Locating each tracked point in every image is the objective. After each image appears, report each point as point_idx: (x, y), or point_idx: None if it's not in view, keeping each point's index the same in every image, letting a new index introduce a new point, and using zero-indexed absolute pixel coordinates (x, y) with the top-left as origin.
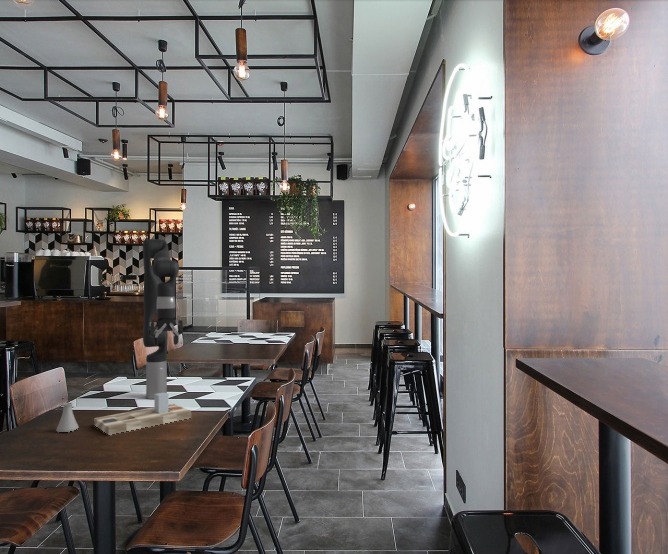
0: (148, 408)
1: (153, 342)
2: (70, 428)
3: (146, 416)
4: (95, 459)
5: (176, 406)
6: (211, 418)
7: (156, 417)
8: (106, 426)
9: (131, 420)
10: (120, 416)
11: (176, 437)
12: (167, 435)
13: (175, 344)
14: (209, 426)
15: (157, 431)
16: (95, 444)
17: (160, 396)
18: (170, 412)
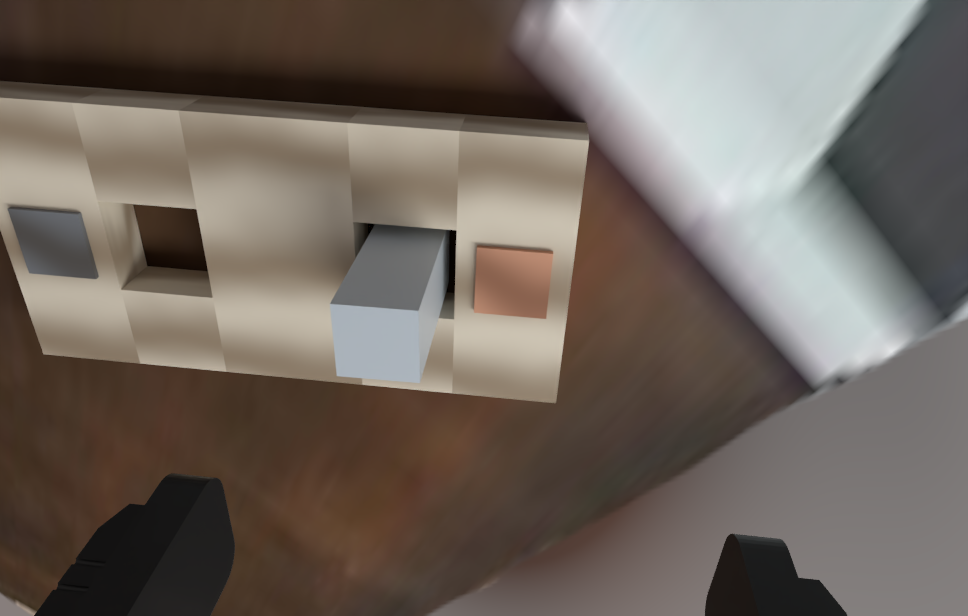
0: (362, 128)
1: (80, 580)
2: None
3: (279, 312)
4: (12, 531)
5: (542, 256)
6: (638, 445)
7: (322, 372)
8: (34, 319)
9: (178, 324)
10: (129, 189)
11: (341, 543)
12: (320, 502)
13: (708, 599)
14: (537, 530)
15: (303, 430)
16: (9, 396)
17: (353, 372)
18: (439, 340)
